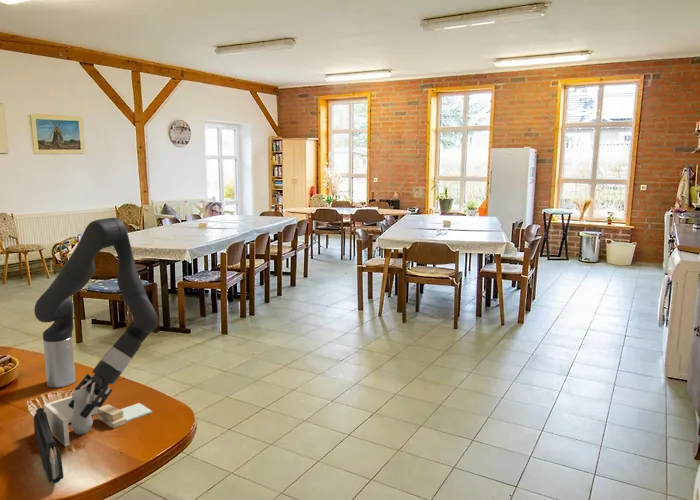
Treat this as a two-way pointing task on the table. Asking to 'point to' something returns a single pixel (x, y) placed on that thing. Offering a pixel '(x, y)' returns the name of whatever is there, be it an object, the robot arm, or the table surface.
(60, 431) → the bracket
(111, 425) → the block
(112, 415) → the offcut short
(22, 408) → the table surface
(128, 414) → the tile
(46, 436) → the magazine
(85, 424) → the salt shaker
